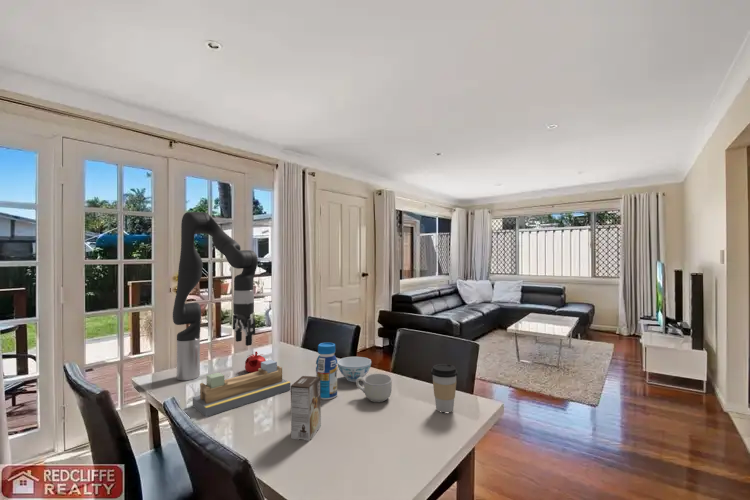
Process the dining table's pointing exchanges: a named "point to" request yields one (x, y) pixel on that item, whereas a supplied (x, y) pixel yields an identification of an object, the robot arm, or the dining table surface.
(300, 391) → the coffee box
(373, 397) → the teacup
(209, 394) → the long wooden trough
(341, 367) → the chinaware
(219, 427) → the dining table surface
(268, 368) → the pale blue block
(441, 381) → the coffee cup
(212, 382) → the block
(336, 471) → the dining table surface
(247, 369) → the pomegranate
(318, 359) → the beverage bottle
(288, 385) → the plate
